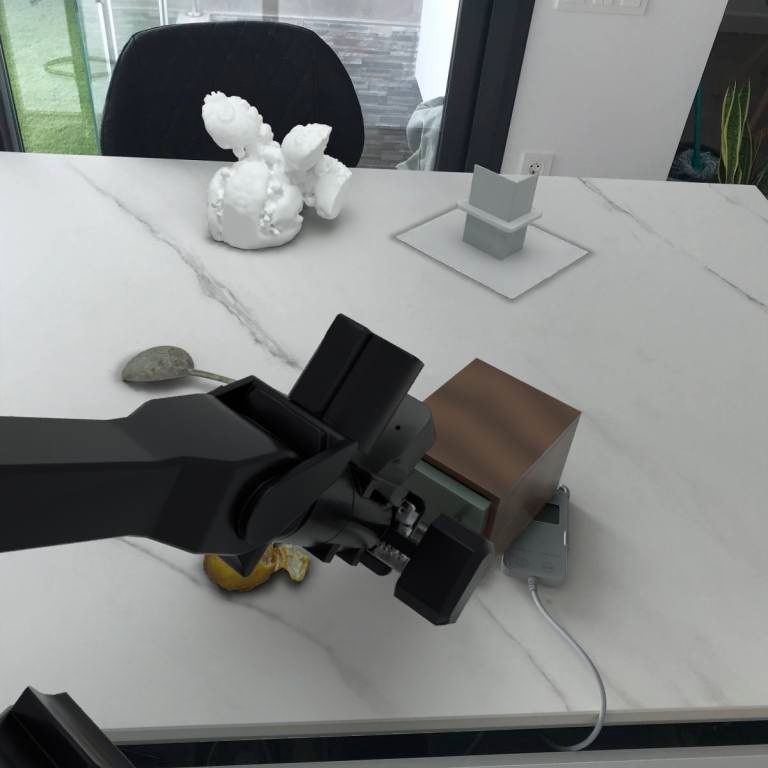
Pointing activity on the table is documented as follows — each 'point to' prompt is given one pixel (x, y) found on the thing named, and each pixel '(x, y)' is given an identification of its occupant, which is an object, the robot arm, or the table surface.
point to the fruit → (258, 568)
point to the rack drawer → (446, 498)
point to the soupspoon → (165, 366)
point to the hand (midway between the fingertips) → (399, 523)
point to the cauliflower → (268, 176)
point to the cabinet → (501, 444)
